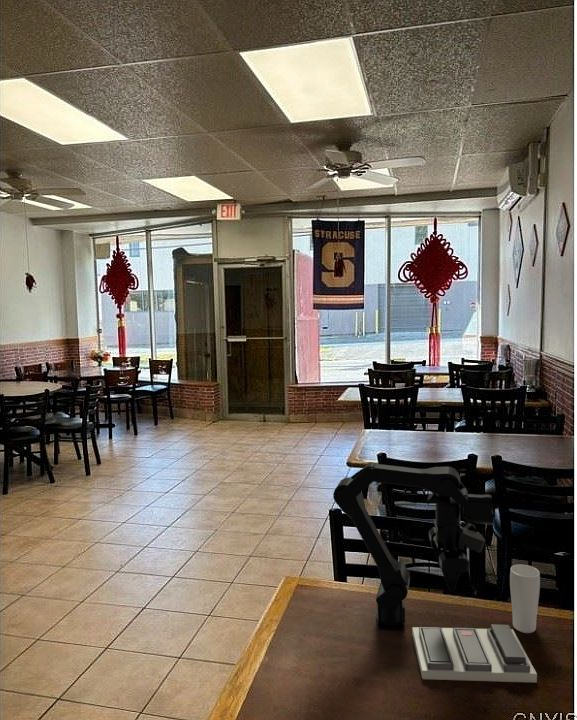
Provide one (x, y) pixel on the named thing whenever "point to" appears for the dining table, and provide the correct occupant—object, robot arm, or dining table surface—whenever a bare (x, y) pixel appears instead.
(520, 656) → the button right
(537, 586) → the drinking glass
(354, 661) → the dining table surface
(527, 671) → the switch panel base
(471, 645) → the button middle
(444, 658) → the button left
